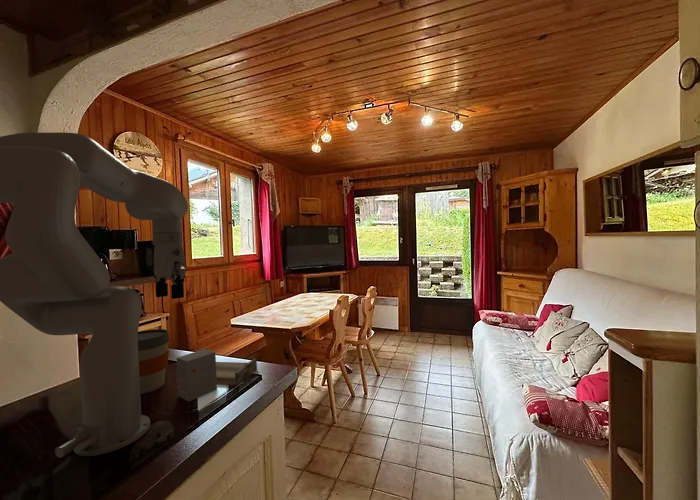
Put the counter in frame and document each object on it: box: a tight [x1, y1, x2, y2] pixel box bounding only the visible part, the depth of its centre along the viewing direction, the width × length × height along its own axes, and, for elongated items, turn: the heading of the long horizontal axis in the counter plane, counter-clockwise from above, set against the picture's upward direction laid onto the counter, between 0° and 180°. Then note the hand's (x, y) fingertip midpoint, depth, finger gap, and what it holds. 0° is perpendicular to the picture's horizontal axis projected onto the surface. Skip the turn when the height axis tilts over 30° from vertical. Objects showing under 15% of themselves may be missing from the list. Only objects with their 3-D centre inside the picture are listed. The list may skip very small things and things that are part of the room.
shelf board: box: [216, 358, 258, 386], centre depth 91 cm, size 11×17×4 cm, turn 80°
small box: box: [176, 348, 218, 402], centre depth 81 cm, size 8×6×10 cm
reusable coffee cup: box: [138, 328, 170, 395], centre depth 86 cm, size 13×13×15 cm
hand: (169, 297), depth 89 cm, fingers open, 9 cm apart
